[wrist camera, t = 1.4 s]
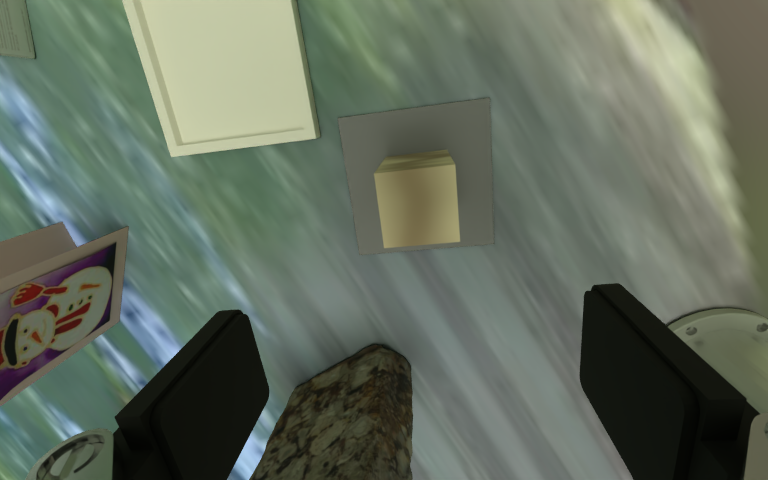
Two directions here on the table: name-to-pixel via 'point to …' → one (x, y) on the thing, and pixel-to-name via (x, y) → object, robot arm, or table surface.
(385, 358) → the stone block
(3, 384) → the greeting card
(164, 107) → the cream tray
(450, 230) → the beech block
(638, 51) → the table surface
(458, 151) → the tile
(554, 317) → the table surface
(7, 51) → the supplement box
